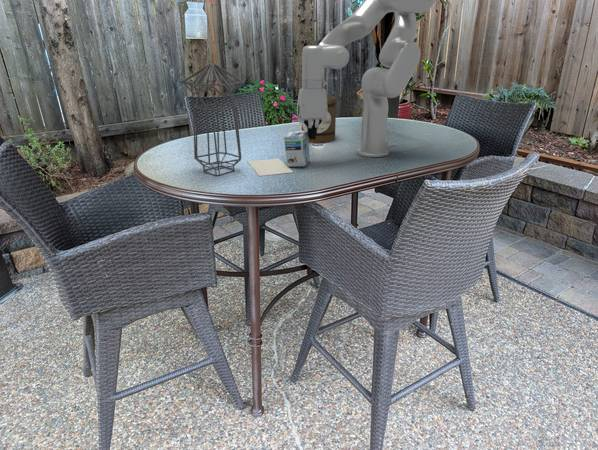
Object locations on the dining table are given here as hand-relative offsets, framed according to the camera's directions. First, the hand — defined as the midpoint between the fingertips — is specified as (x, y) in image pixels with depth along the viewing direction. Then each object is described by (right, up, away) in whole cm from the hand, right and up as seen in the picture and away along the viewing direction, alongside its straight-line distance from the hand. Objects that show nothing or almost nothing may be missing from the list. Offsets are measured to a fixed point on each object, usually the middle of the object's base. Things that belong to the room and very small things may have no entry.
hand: (312, 138), depth 153 cm
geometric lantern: (-32, -12, -4) cm, 34 cm away
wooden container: (+4, +7, +38) cm, 39 cm away
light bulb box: (-5, -9, +2) cm, 10 cm away
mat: (-15, -10, -1) cm, 18 cm away
